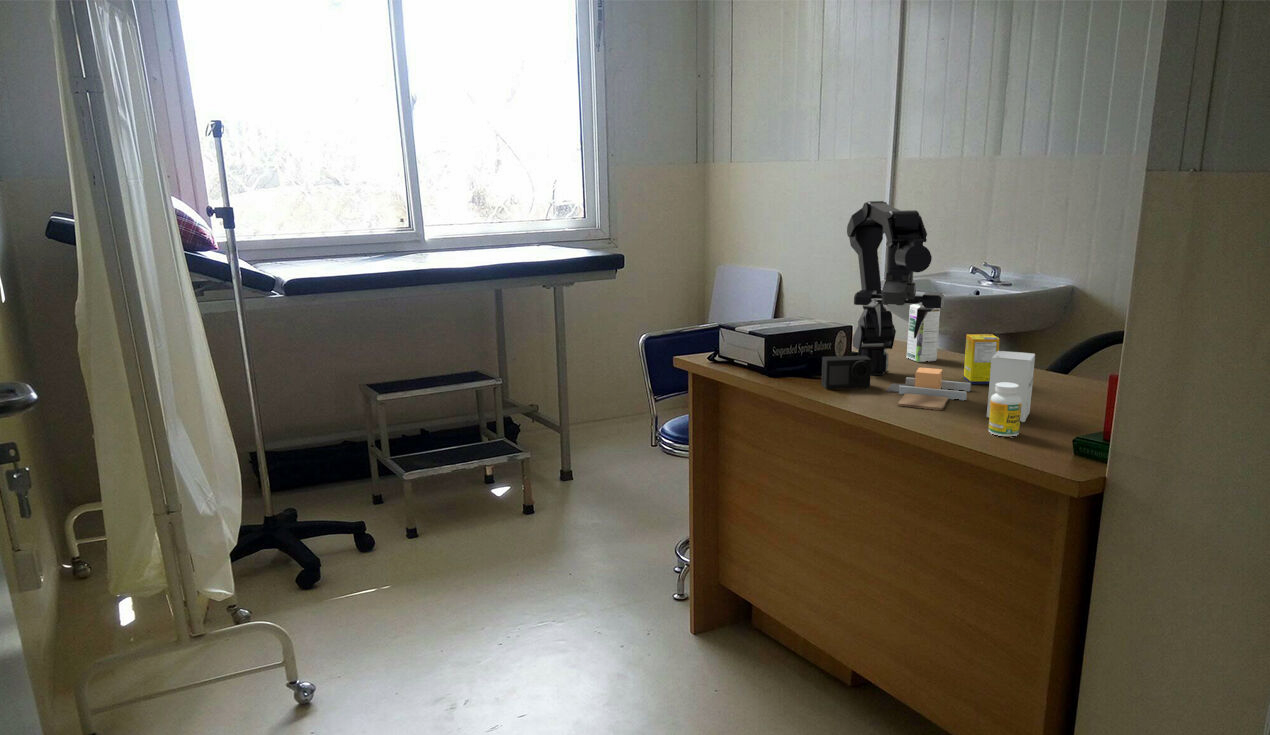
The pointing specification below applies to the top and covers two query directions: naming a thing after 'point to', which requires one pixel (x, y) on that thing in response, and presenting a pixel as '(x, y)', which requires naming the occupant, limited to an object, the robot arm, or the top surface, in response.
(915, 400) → the coaster
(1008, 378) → the supplement box
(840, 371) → the digital camera
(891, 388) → the mat
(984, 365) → the supplement box
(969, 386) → the channel
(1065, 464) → the top surface
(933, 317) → the syrup box
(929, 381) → the block
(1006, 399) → the supplement bottle
